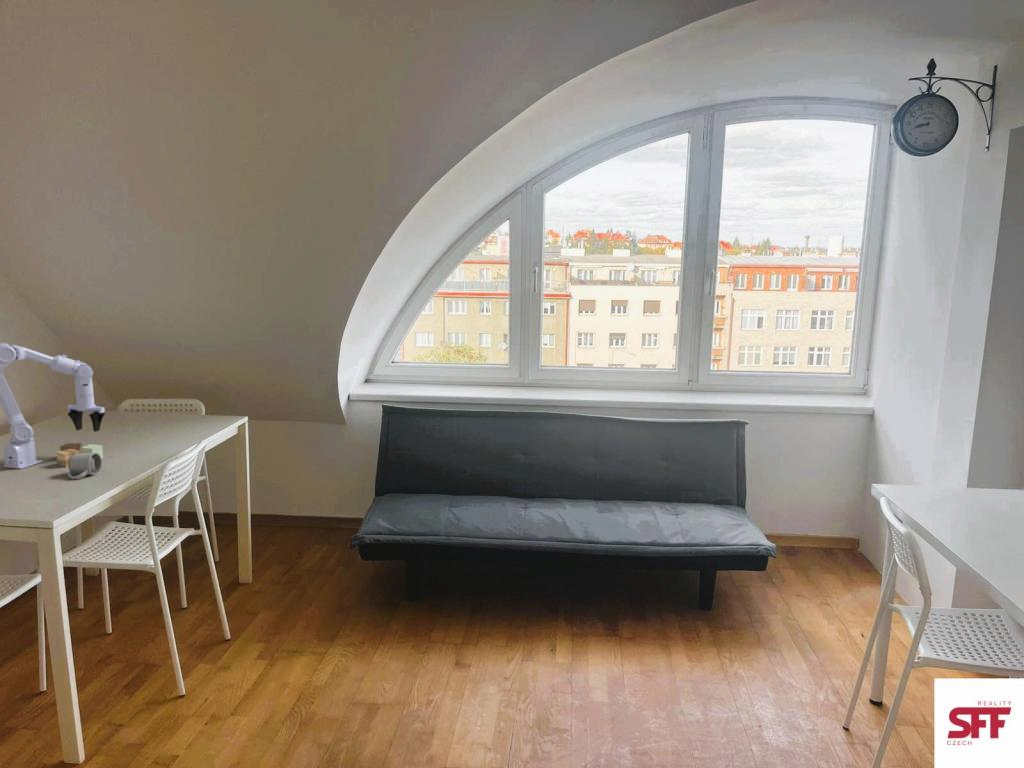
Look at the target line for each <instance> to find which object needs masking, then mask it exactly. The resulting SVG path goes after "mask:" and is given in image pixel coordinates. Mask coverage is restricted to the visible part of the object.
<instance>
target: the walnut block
mask: <svg viewBox="0 0 1024 768" xmlns="http://www.w3.org/2000/svg"><path fill="white" fill-rule="evenodd" d="M82 444H83V443H82V442H67V443H65V444H62V445H60V446H59V451H63V450H67V449H73V450H77V451H79V454H80V453H81V447H83V445H82Z"/></svg>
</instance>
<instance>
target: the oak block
mask: <svg viewBox="0 0 1024 768" xmlns="http://www.w3.org/2000/svg"><path fill="white" fill-rule="evenodd" d="M75 454H79V451H77V450H73V449H67V450H63V451H60V450H59V451H56V462H57V466H59V465H62V466H61V467H63V466H65V467H64V468H68V467H67V466H68V463H69V459H70V458H71V456H73V455H75Z"/></svg>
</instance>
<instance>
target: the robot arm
mask: <svg viewBox="0 0 1024 768" xmlns="http://www.w3.org/2000/svg"><path fill="white" fill-rule="evenodd" d="M15 360H17V361H21V360H30V361H34V362H37V363H42V364H44V365H48V366H50V369H51V370H53V371H55V372H59V373H61V374H66V375H67V376H74V381H75V383H74V388H75V389H74V390H75V400H76V404H70V405H67V411H68V413H67V415H68V417H69V418H70V419H71V422H72V423H73V425H74V429H75V430H76V431H80V430H82V429H83V415H84V412H85V413H89V414H88V416H89V417H90V420H91V422H92V423H91V424H92V428H93V432H94V433H95V432H99V431H100V429H101V424H102V421H103V418H104V416H105V415H106V410H105V409H106V408H105V407H104V406H98V405H96V404H95V398H94V384H93V375H94V371H93V368H92V367H91V366H90V365H89V364H87V363H85V362H84V361H81V360H79V359H77V360H75V359H71V358H68V356H67V355H66V354H65V355H64V354H61V355H55V356H51V355H48V354H44V353H42V352H39V351H36V350H33V349H30V348H27V347H25V346H19V345H16V344H11V345H10V344H8V343H7V342H0V406H1V408H2V410H3V412H4V415H5V417H6V418H7V420H8V421H7V422H8V423H9V433H10V435H11V434H12V437H11V438H10V441H9V443H8V444H5V445H4V447H3V451H2V452H3V460H4V462H3V463H4V465H2V467H3V468H9V469H10V468H11V469H20V470H21V469H25V468H27V467H31V466H34V465H37V464H41V463H43V460H41V459H37V454H36V444H35V437H34V429H33V428H32V426H31V425H30V424H29V422H28V421H26V419H25V418H24V415H23V414H22V412H21V409H20V408H19V405H18V403H17V401H16V399H15V397H14V395H13V392H12V390H11V389H10V387H9V384H8V382H7V380H6V377H5V376H4V374H3V373H4V372H5V370H6V368H7V367H8V366H9V365H10V364H11V363H12V362H14V361H15Z"/></svg>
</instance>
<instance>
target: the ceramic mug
mask: <svg viewBox="0 0 1024 768" xmlns="http://www.w3.org/2000/svg"><path fill="white" fill-rule="evenodd" d="M102 462H103V461H102V459H101V457H100V455H99V454H98V453H80V454H75V455H73V456H71V458H70V459H69V463H68V467H67V468H68V472H67V473H68V474H67V475H68V477H69V479H71V480H73V479H77V480H79V479H83V478H84V477H86V476H96V475H98V474H99V473H100V472H101V469H102V467H103V466H102V465H103V464H102ZM72 474H73V475H72ZM77 474H78V475H77Z"/></svg>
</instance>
